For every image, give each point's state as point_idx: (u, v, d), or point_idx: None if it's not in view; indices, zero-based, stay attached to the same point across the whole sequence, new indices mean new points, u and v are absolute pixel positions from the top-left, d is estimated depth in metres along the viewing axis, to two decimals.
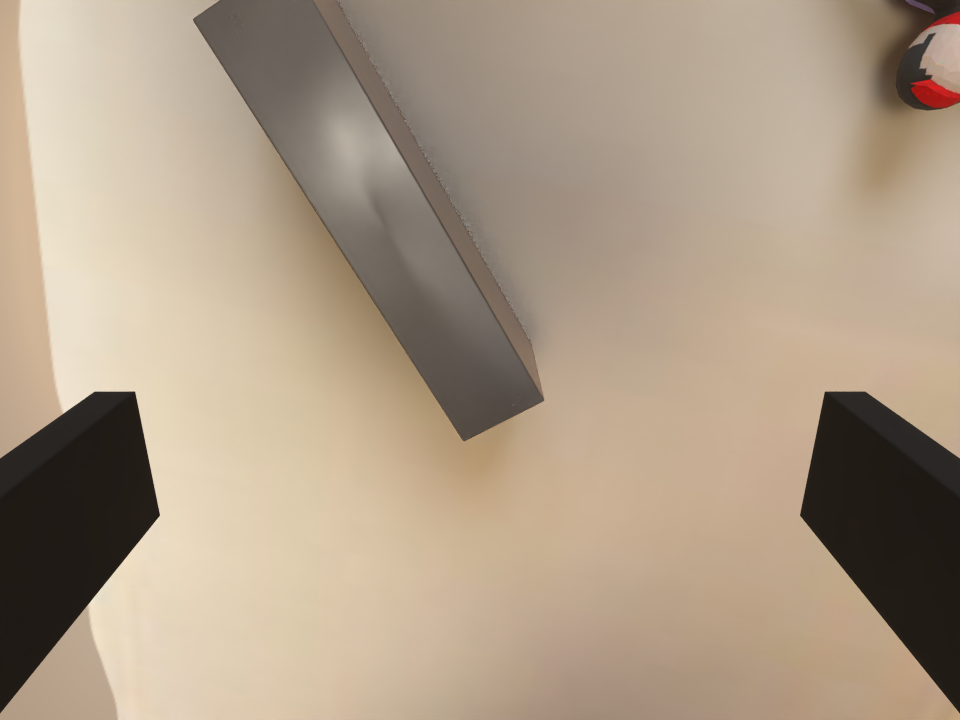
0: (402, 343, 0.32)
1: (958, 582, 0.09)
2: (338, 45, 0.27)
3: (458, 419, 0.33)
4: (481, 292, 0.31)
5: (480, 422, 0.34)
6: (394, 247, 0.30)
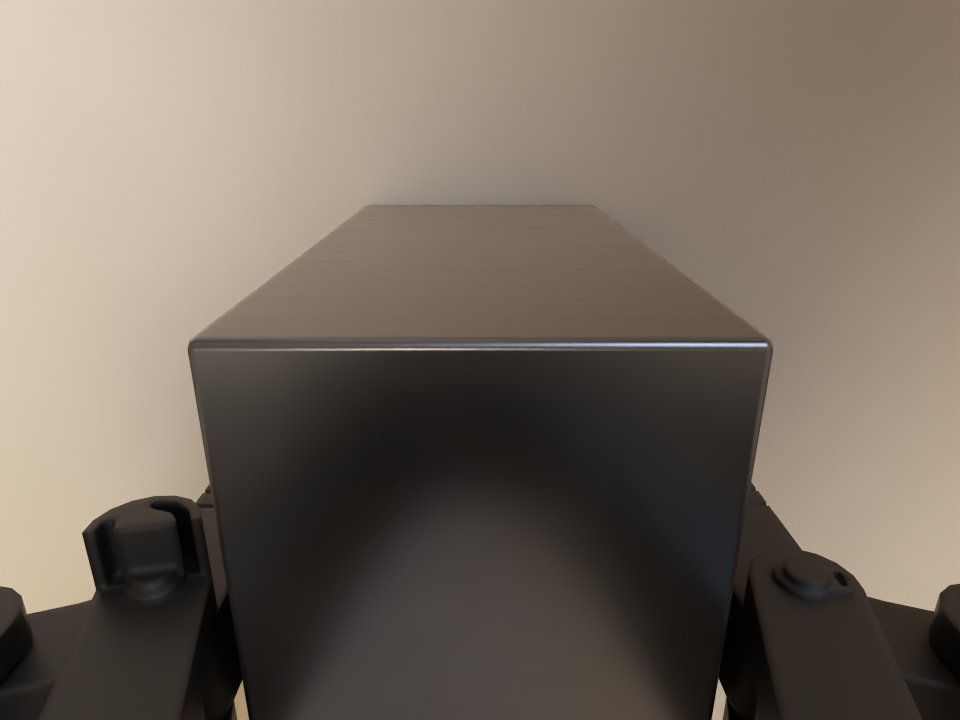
0: None
1: None
2: (712, 694, 0.07)
3: None
4: None
5: None
6: None
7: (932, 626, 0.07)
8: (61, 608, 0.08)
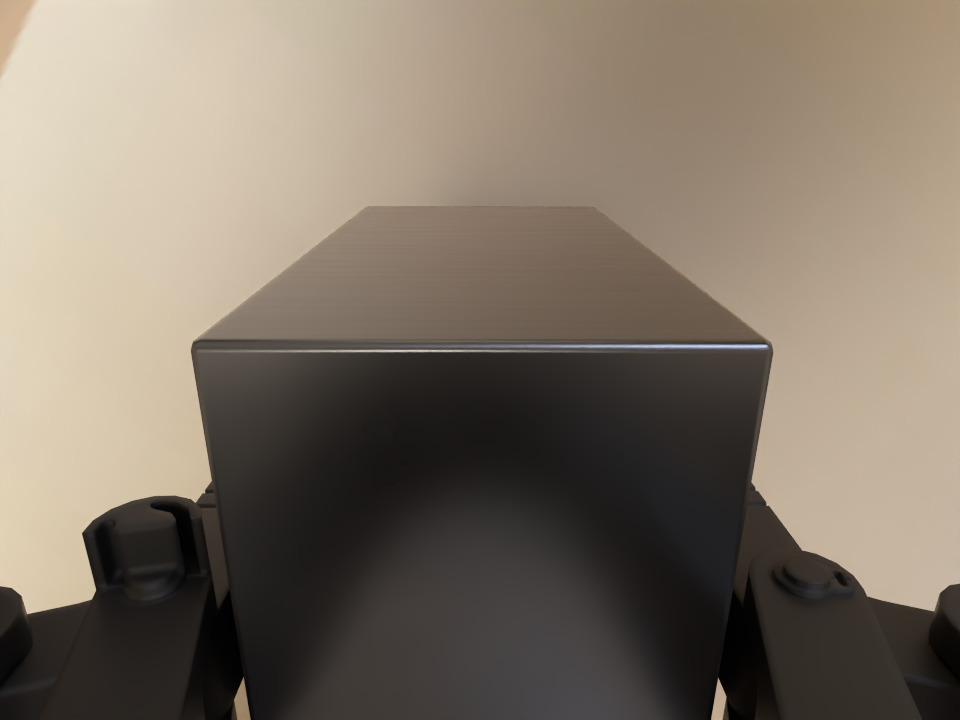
0: None
1: None
2: (712, 694, 0.07)
3: None
4: None
5: None
6: None
7: (932, 626, 0.07)
8: (61, 608, 0.08)
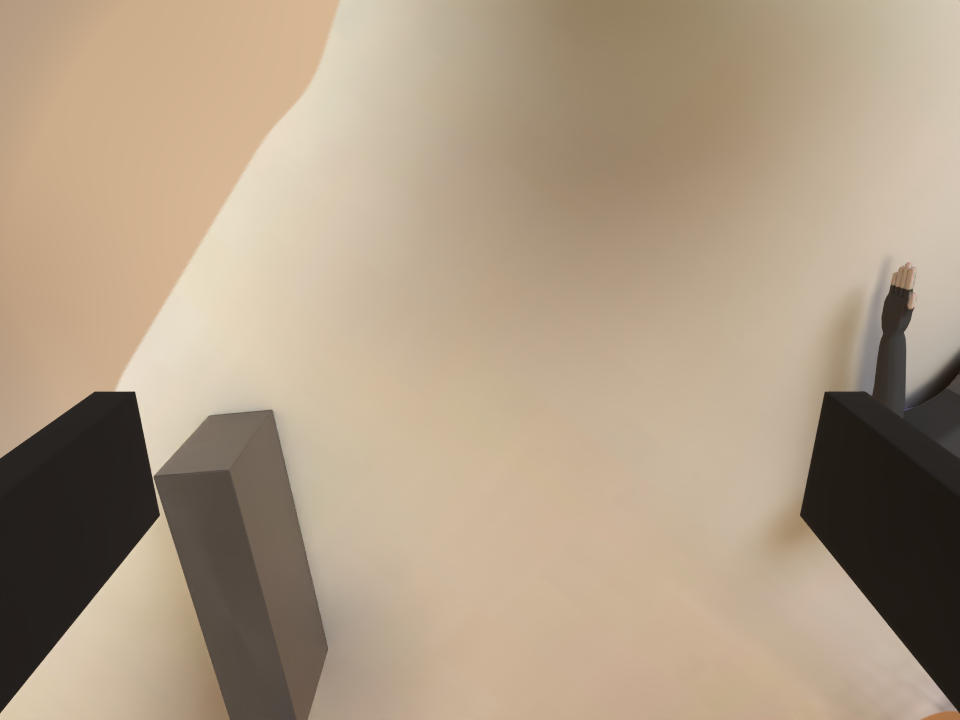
0: (218, 680, 0.45)
1: (958, 582, 0.09)
2: (243, 522, 0.41)
3: None
4: (283, 671, 0.45)
5: None
6: (235, 631, 0.44)
7: None
8: None
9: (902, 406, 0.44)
